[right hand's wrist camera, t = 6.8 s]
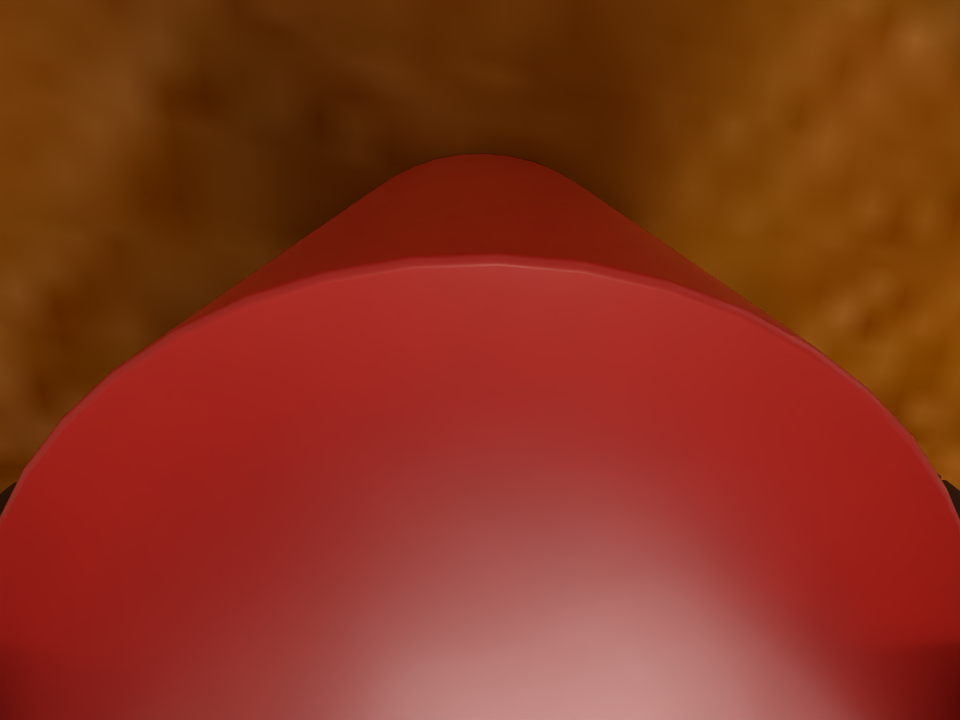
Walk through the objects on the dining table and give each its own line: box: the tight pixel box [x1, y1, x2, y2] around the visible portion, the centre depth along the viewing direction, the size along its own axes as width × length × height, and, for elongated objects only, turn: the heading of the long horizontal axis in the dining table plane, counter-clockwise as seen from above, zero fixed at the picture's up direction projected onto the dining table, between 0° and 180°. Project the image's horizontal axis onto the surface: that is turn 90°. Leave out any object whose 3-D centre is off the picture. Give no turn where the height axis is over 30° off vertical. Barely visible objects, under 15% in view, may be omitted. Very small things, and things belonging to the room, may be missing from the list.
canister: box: [0, 154, 960, 720], centre depth 11 cm, size 9×9×12 cm
